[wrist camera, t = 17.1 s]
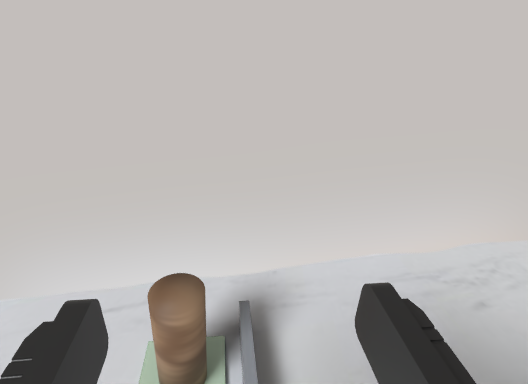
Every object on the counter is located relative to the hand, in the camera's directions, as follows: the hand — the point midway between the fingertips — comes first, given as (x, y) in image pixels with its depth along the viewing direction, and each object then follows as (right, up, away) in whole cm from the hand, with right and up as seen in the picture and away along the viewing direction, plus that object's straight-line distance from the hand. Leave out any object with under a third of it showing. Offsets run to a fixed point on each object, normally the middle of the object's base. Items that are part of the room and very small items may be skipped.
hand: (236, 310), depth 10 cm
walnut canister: (-8, -16, +24) cm, 30 cm away
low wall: (-1, -16, +25) cm, 30 cm away
